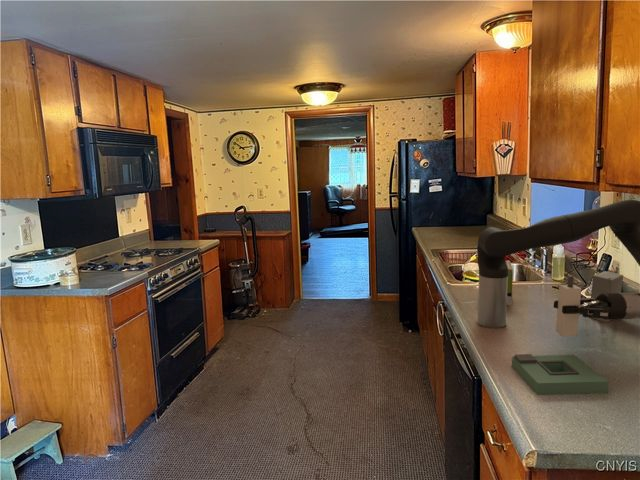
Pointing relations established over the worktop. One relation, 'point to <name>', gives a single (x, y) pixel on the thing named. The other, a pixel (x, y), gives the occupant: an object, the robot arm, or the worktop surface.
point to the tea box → (509, 283)
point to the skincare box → (606, 285)
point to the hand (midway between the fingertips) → (558, 307)
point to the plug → (568, 297)
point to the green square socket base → (558, 374)
